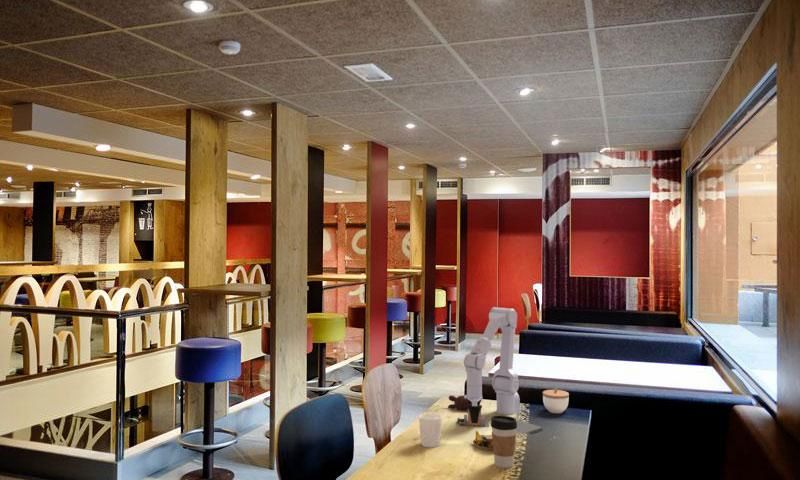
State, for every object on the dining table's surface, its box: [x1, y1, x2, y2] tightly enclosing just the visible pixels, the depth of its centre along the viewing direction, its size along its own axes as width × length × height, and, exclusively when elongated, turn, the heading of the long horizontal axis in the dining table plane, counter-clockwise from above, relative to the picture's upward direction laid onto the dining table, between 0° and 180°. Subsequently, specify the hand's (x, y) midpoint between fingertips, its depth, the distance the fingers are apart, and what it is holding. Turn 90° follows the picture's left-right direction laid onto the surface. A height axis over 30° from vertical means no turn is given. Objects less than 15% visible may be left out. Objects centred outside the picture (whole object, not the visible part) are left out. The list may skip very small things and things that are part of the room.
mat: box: [516, 420, 543, 435], centre depth 229 cm, size 11×11×1 cm
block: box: [467, 409, 482, 425], centre depth 233 cm, size 5×4×6 cm
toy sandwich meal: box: [472, 430, 493, 451], centre depth 211 cm, size 12×14×5 cm
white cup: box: [418, 412, 442, 449], centre depth 212 cm, size 8×8×10 cm
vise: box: [456, 414, 490, 428], centre depth 233 cm, size 12×7×4 cm, turn 83°
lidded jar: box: [542, 388, 570, 414], centre depth 253 cm, size 11×11×9 cm
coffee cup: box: [490, 415, 517, 469], centre depth 193 cm, size 8×8×15 cm
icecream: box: [447, 395, 469, 411], centre depth 253 cm, size 7×7×15 cm
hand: (474, 419), depth 233 cm, fingers open, 7 cm apart
